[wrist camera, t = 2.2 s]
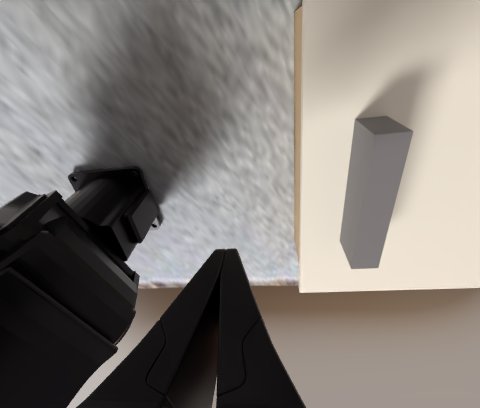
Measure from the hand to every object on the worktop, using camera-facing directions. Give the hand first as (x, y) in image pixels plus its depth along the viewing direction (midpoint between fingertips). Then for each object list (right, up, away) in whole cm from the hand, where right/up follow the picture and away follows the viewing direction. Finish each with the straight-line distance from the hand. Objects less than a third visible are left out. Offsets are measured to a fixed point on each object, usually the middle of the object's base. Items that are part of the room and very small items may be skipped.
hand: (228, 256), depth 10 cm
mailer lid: (+11, +4, +5) cm, 13 cm away
